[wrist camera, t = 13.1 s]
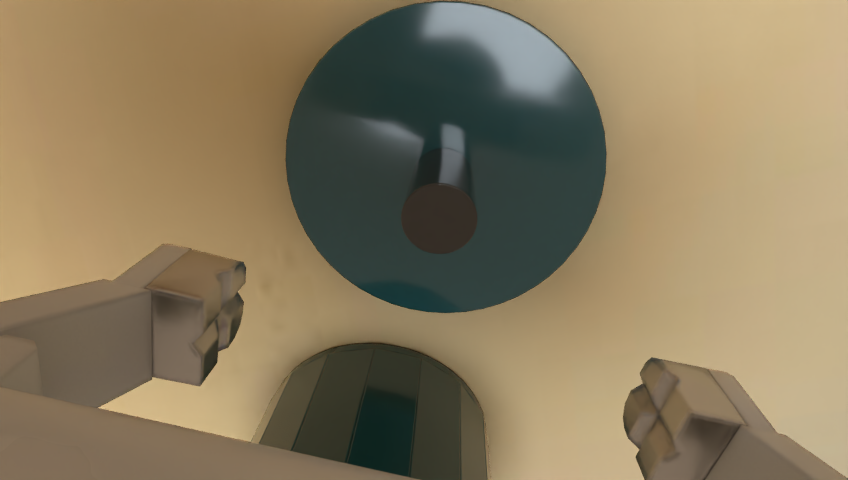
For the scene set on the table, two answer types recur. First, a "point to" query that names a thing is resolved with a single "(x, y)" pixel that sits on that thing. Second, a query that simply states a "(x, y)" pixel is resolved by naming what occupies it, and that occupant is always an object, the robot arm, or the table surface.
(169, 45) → the table surface
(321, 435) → the pot
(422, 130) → the lid
